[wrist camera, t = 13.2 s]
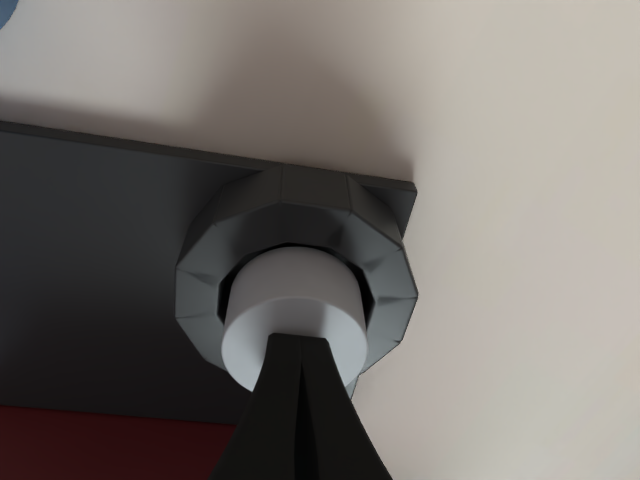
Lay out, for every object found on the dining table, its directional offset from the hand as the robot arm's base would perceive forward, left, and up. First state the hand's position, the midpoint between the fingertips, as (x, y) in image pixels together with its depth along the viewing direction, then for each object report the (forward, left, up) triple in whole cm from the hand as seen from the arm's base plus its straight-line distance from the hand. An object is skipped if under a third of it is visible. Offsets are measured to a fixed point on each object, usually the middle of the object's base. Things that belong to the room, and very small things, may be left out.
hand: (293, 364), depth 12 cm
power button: (0, 0, -2) cm, 2 cm away
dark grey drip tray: (-4, -2, -5) cm, 7 cm away
